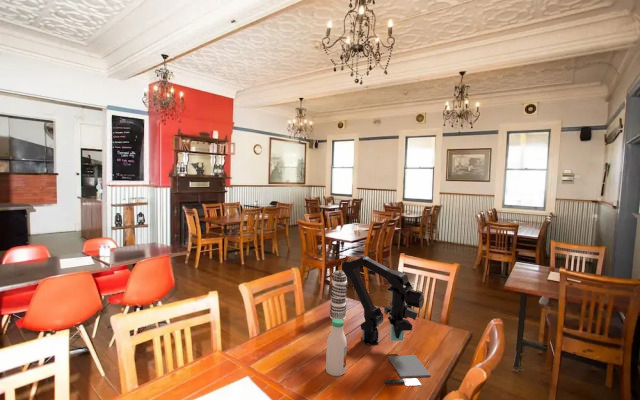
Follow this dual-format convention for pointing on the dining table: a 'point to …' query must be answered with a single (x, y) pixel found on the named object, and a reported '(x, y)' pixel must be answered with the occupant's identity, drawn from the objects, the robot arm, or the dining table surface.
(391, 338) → the tile
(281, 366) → the dining table surface
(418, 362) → the mat
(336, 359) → the milk bottle
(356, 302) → the dining table surface
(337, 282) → the decorative candle
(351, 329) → the dining table surface
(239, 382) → the dining table surface
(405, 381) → the turner
